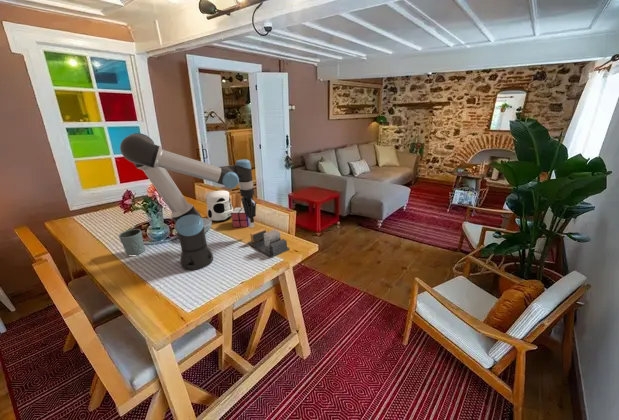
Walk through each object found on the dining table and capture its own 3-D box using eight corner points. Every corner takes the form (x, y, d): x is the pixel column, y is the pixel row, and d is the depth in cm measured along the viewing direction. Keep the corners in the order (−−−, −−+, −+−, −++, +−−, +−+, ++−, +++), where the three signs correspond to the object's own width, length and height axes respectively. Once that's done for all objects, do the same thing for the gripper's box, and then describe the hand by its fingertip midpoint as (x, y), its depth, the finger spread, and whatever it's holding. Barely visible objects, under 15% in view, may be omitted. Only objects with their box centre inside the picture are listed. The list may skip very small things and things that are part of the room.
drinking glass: (150, 249, 150) (145, 229, 145) (135, 258, 141) (129, 238, 136) (136, 247, 152) (130, 228, 148) (120, 256, 143) (113, 236, 139)
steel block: (270, 252, 141) (269, 236, 138) (265, 248, 144) (263, 233, 141) (281, 247, 145) (280, 232, 142) (275, 244, 149) (274, 229, 145)
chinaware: (202, 227, 175) (200, 216, 172) (218, 232, 168) (216, 220, 165) (182, 236, 163) (179, 225, 160) (198, 242, 156) (196, 230, 153)
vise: (271, 258, 137) (270, 247, 135) (248, 243, 152) (246, 234, 150) (289, 249, 145) (288, 239, 142) (265, 236, 160) (264, 227, 158)
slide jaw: (253, 242, 150) (252, 234, 148) (251, 241, 152) (250, 233, 150) (267, 237, 156) (266, 229, 154) (264, 236, 158) (263, 228, 156)
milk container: (210, 214, 196) (206, 191, 189) (235, 212, 198) (231, 189, 192) (206, 224, 180) (201, 198, 173) (233, 221, 182) (229, 196, 176)
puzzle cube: (248, 227, 174) (246, 212, 170) (232, 227, 174) (230, 213, 170) (251, 220, 183) (250, 207, 179) (236, 221, 183) (235, 207, 180)
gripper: (259, 188, 146) (263, 228, 155) (246, 184, 155) (251, 222, 164) (246, 192, 142) (252, 232, 150) (234, 187, 151) (240, 225, 159)
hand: (251, 227), depth 157 cm, fingers closed
